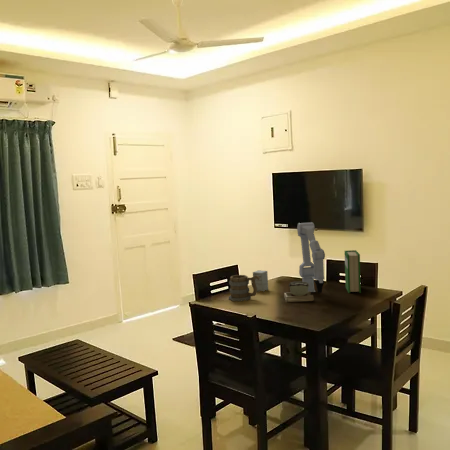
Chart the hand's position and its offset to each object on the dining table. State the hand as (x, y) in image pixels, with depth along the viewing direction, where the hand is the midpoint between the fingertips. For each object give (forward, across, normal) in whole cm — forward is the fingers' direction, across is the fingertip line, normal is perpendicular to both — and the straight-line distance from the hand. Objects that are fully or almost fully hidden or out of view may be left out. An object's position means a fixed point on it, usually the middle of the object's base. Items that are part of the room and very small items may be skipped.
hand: (319, 292), depth 290 cm
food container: (+4, -1, -12) cm, 12 cm away
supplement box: (+4, -28, -34) cm, 44 cm away
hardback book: (+4, -18, +24) cm, 30 cm away
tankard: (+4, -6, -45) cm, 45 cm away
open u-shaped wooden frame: (+3, 0, -12) cm, 13 cm away
